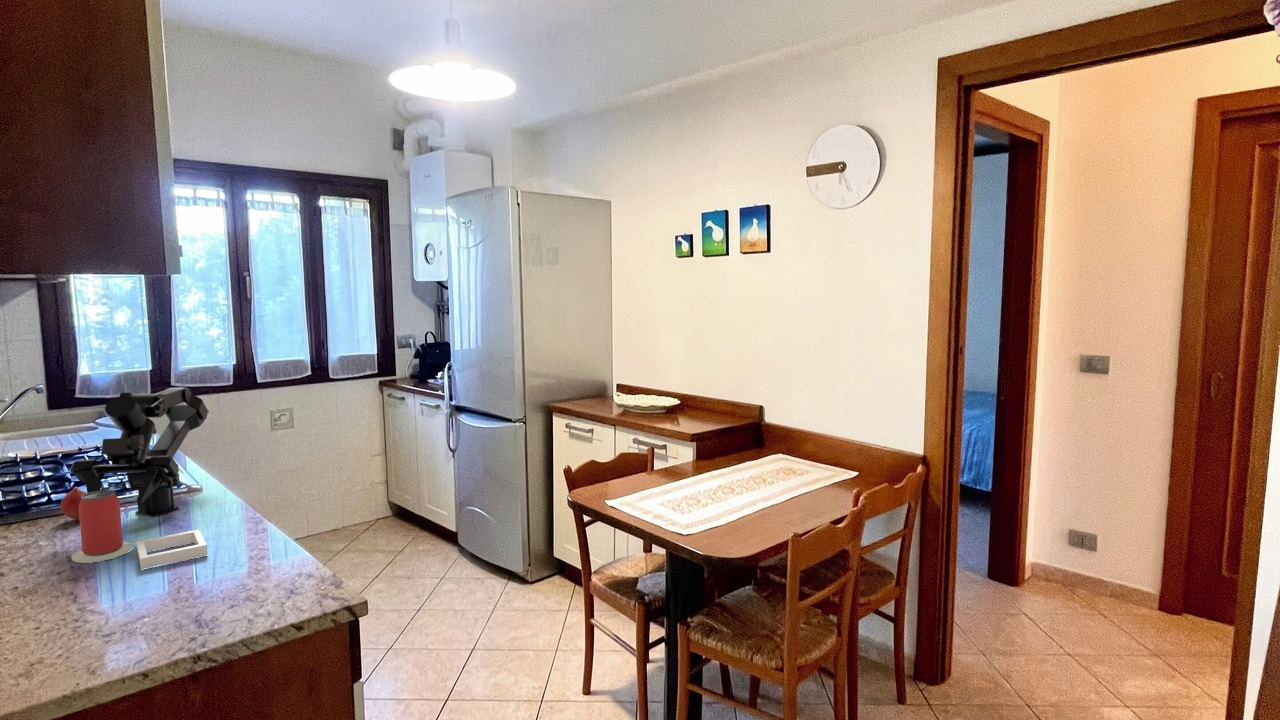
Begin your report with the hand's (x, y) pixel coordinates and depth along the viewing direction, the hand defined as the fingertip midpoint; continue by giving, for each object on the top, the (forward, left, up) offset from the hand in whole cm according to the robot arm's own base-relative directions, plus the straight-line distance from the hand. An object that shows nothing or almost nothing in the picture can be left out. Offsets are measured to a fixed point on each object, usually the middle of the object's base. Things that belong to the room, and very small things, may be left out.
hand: (115, 503), depth 144 cm
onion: (-6, -22, -9) cm, 25 cm away
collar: (+2, +18, -8) cm, 20 cm away
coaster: (+6, +4, -8) cm, 11 cm away
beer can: (+6, +4, -8) cm, 10 cm away
